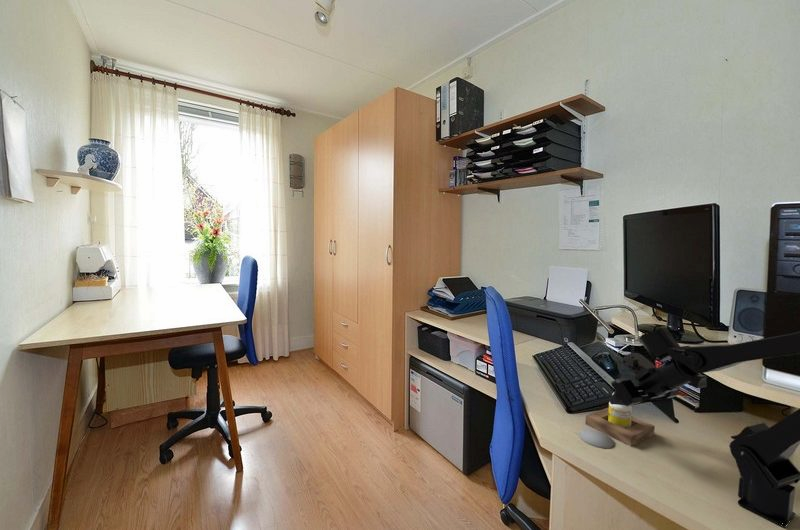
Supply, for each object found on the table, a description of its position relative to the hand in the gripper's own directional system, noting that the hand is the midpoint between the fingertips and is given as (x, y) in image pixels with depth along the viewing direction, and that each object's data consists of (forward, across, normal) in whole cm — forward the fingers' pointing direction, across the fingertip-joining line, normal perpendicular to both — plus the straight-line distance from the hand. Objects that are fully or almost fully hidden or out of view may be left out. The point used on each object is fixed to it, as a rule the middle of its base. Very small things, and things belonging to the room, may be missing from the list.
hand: (622, 400), depth 93 cm
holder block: (+6, 0, +6) cm, 9 cm away
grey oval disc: (+5, +11, +7) cm, 14 cm away
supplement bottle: (+6, 0, +6) cm, 9 cm away
